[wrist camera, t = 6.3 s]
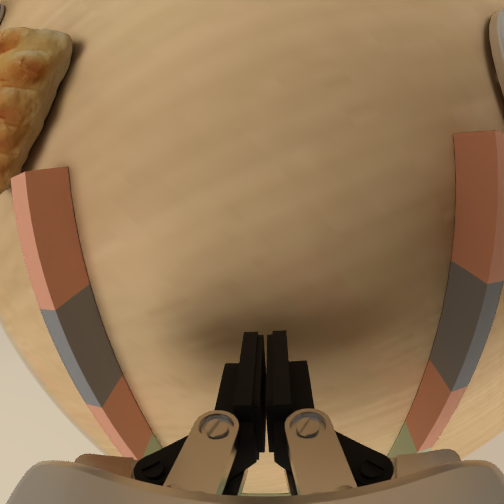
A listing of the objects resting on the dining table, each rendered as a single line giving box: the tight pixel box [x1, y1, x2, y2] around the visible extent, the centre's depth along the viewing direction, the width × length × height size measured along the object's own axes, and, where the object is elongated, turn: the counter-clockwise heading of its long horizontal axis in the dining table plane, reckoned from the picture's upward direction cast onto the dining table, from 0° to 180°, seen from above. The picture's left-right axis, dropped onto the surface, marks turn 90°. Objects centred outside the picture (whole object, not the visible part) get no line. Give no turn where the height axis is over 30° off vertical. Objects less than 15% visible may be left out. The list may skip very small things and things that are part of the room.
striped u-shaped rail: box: [11, 130, 504, 496], centre depth 13 cm, size 20×30×3 cm
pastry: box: [0, 27, 73, 194], centre depth 8 cm, size 9×7×4 cm
